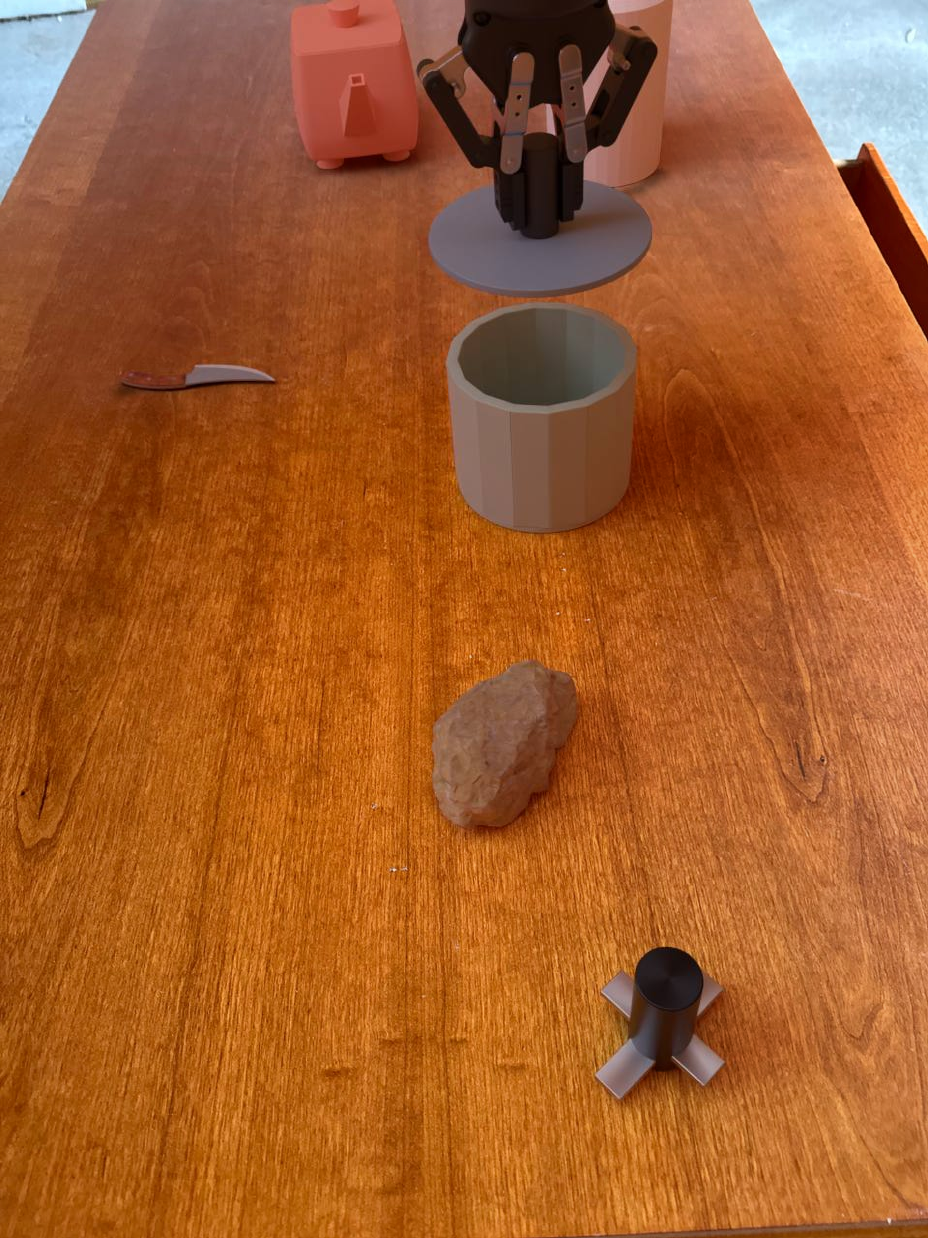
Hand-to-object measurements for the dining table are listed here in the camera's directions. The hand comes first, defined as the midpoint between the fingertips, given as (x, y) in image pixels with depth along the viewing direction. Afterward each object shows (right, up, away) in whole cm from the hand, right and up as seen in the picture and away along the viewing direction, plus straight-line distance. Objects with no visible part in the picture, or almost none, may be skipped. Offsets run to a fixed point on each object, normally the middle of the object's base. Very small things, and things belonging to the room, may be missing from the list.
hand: (539, 218), depth 69 cm
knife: (-27, -4, +26) cm, 37 cm away
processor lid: (0, -1, +1) cm, 1 cm away
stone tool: (-2, -33, -2) cm, 33 cm away
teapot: (-15, +26, +53) cm, 61 cm away
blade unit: (+5, -45, -14) cm, 47 cm away
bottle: (+10, +22, +47) cm, 53 cm away
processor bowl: (+1, -14, +15) cm, 20 cm away
